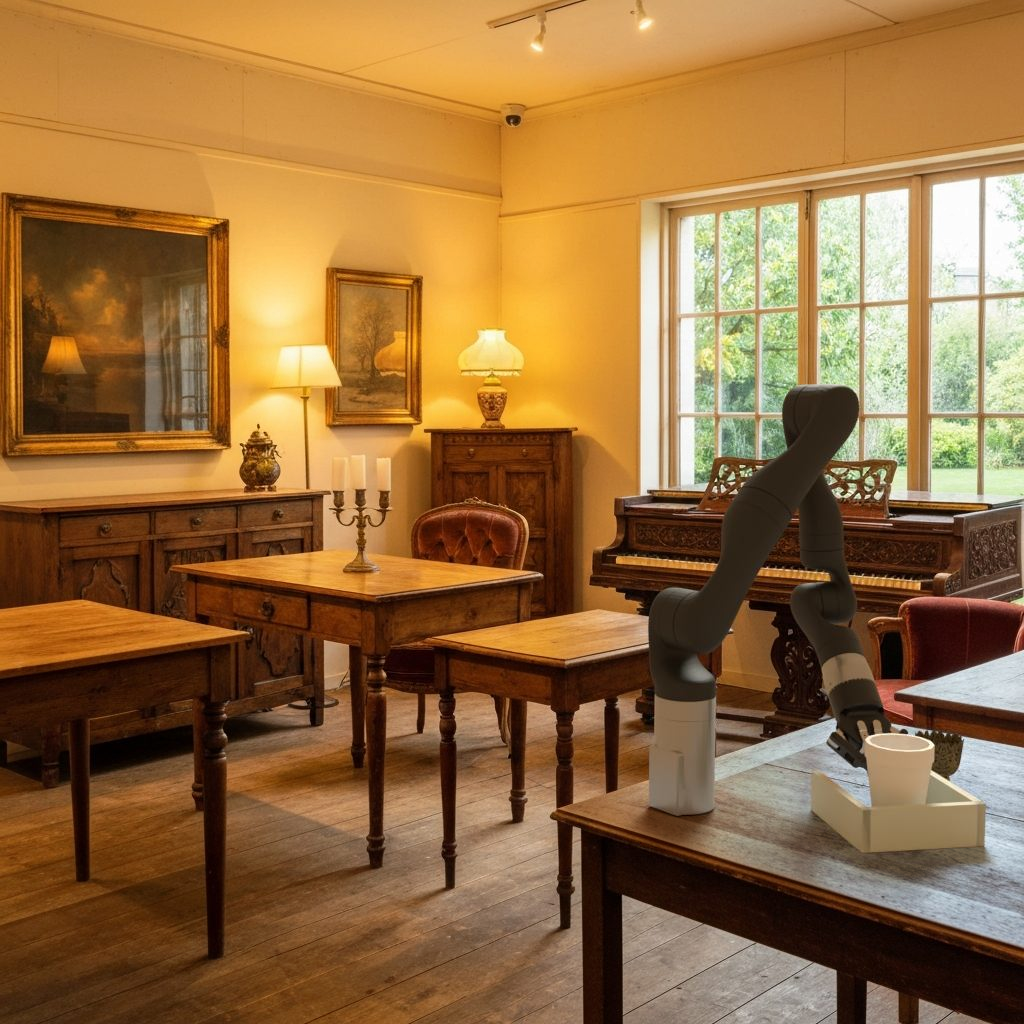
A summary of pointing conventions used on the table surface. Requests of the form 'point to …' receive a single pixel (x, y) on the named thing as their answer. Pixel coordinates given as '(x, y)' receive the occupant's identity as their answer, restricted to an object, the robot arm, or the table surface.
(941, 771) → the cup
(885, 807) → the walled box
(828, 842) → the table surface
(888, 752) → the foam cup
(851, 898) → the table surface
